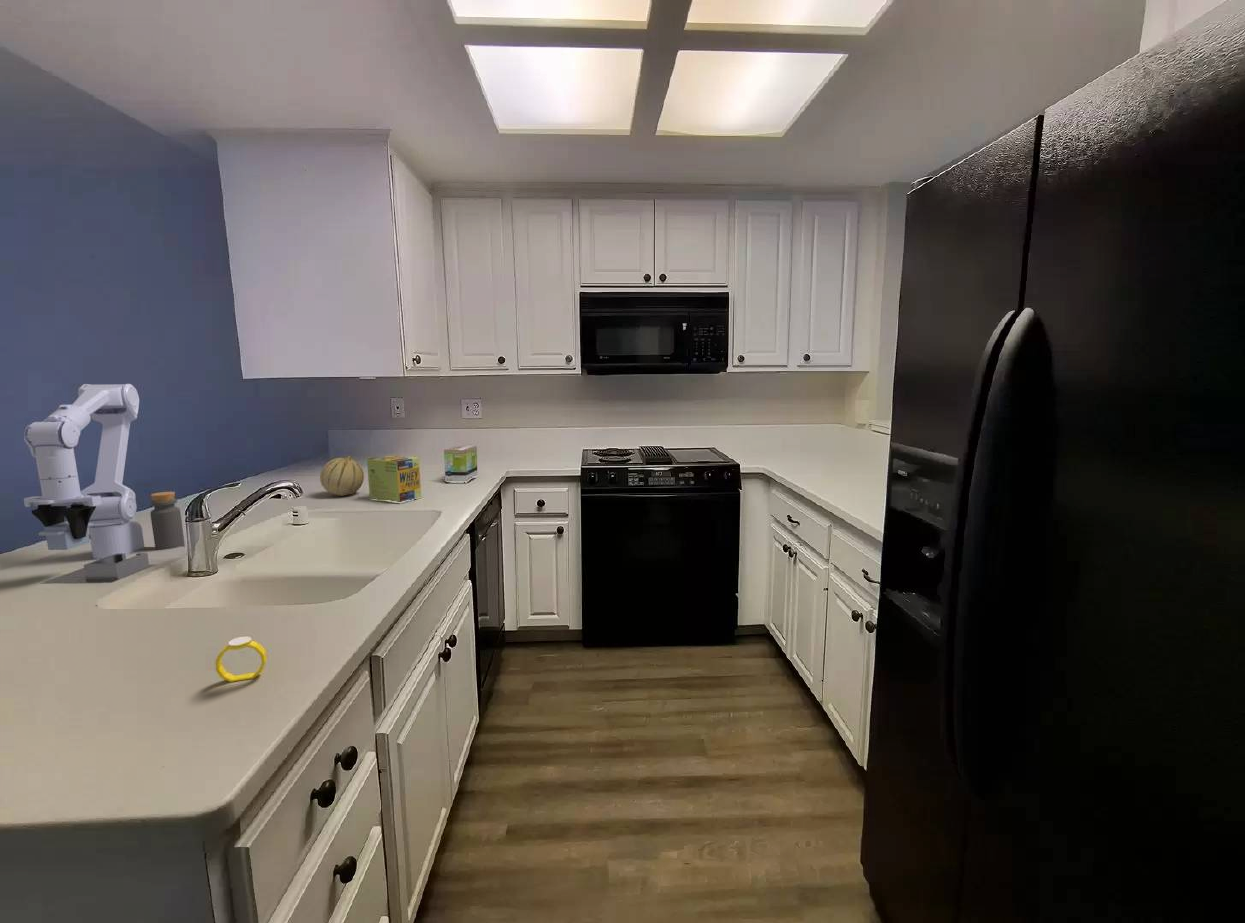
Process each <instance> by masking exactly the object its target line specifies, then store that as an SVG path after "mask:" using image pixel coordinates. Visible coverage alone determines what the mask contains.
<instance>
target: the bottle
mask: <svg viewBox="0 0 1245 923" xmlns="http://www.w3.org/2000/svg"><path fill="white" fill-rule="evenodd" d="M175 494H176V493H175V491H161V492H156V493H151V494H150V497H151V500H152V501H150V505H151V507H154V509H152V510H151V511H150V520H151V521H150V522H151V527H152V535H153V541H154V542H153V543H154V548H155V550H158V551H163V550H172V549H177V548H180V547H181V548H183V547H186V543H185V537H184V529H183V523H182V522H183V521H182V514H181V508H180V507H177V506H176V505H175V504H177V502H178V500H177V498H176V497H175Z"/></svg>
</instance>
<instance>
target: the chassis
mask: <svg viewBox="0 0 1245 923" xmlns="http://www.w3.org/2000/svg"><path fill="white" fill-rule="evenodd" d="M126 555H127V554H126ZM126 555H125V553H117V554H114V555H111V556H108V557H105V558H102V559H96V560H94V561H90V562H89V563H85V564H83V567H82V568H79V569H77V570H74V571H71V572H68V573H65V574H63V575H60V576H59V575H58V576H57V577H54V578H51V579H49V580H46V581H43V582H41V583H39V584H41V585H42V584H48V585H49V584H99V583H100V584H106V583H107V584H109V583H111V584H112V583H114V582H117V581H120V580H121V579H124V578H127V577H129V576H132V575H134V574H137V573H139V572H141V571H144V570H147V569H149V568H152V567H154V566H155V564H150V561H149V554H148V553H147V552H139V553H136V555H134V556H132V557H129V558H127V556H126Z"/></svg>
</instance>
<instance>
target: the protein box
mask: <svg viewBox="0 0 1245 923" xmlns="http://www.w3.org/2000/svg"><path fill="white" fill-rule="evenodd" d="M366 465H367V477H368V478H367V479H368V490H369V499H370V498H371V499H377V500H391V501H397V502H402V501H406V500H412V499H415V498H418V497H421V498H422V485H421V472H420V458H419V457H418V456H415V457H414V456H401V455H385V456H378V457H371V458H367V459H366Z"/></svg>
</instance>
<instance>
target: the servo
mask: <svg viewBox="0 0 1245 923" xmlns="http://www.w3.org/2000/svg"><path fill="white" fill-rule="evenodd" d="M89 526H93V523H88V527H89ZM88 527H87V532H86V537H83V538H80V539H74V538H73V536H72V534H71V530H70V526H69V523H68V521H67V520H66V521H64V522H63V523H59V524H55V525H52V526H48V527H45V526H44V530H43V531H40V532H38V536H39V537H40V536H45V540H46V542H47V543H46V544H47V549H48V550H49V551H62V550H63V551H67V550H71V549H73V548H74V549H75V548H77V547H80V546H84V545H86V544H91V541H90V539H91V536H90V535H89V529H88Z"/></svg>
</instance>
